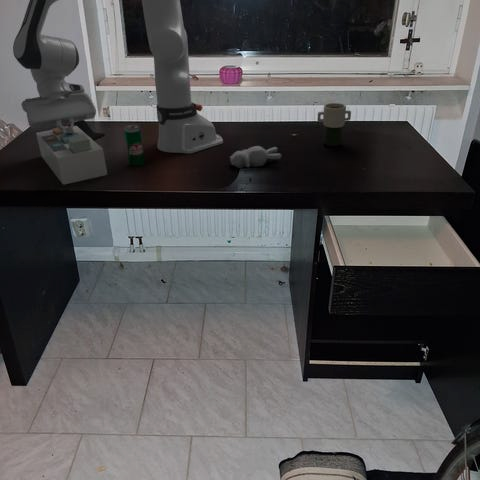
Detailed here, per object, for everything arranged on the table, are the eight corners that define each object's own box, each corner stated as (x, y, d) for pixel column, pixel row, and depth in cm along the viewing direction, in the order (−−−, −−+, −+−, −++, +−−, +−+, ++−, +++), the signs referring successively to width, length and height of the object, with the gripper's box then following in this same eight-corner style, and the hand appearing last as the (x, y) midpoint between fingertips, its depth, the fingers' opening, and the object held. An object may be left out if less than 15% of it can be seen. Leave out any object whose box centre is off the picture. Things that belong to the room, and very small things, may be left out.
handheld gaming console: (90, 140, 170) (72, 116, 169) (77, 152, 173) (59, 128, 172) (107, 135, 180) (90, 112, 179) (94, 146, 184) (78, 123, 182)
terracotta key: (70, 139, 163) (68, 125, 161) (74, 143, 159) (72, 129, 157) (55, 142, 161) (52, 128, 159) (59, 146, 157) (56, 132, 155)
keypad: (81, 148, 168) (76, 124, 164) (107, 174, 147) (102, 147, 143) (41, 156, 162) (35, 131, 158) (63, 184, 141) (57, 156, 137)
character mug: (345, 140, 168) (348, 102, 162) (351, 147, 162) (354, 107, 156) (314, 141, 168) (315, 103, 161) (318, 149, 162) (320, 109, 155)
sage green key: (87, 149, 147) (84, 135, 145) (92, 154, 143) (89, 139, 141) (70, 153, 145) (67, 138, 143) (74, 158, 141) (71, 142, 139)
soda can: (131, 168, 151) (126, 130, 145) (126, 163, 155) (121, 125, 149) (147, 165, 153) (142, 127, 147) (142, 160, 157) (137, 123, 151)
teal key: (79, 146, 156) (76, 132, 153) (83, 150, 152) (80, 136, 150) (62, 149, 153) (60, 135, 151) (67, 154, 150) (64, 139, 147)
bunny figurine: (228, 148, 153) (275, 139, 153) (230, 163, 156) (277, 155, 156) (231, 159, 145) (281, 149, 145) (233, 175, 147) (283, 166, 148)
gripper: (19, 93, 145) (33, 134, 143) (88, 84, 154) (102, 122, 152) (19, 105, 151) (34, 145, 148) (86, 96, 160) (100, 133, 157)
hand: (69, 134), depth 150 cm, fingers closed, pressing on teal key
